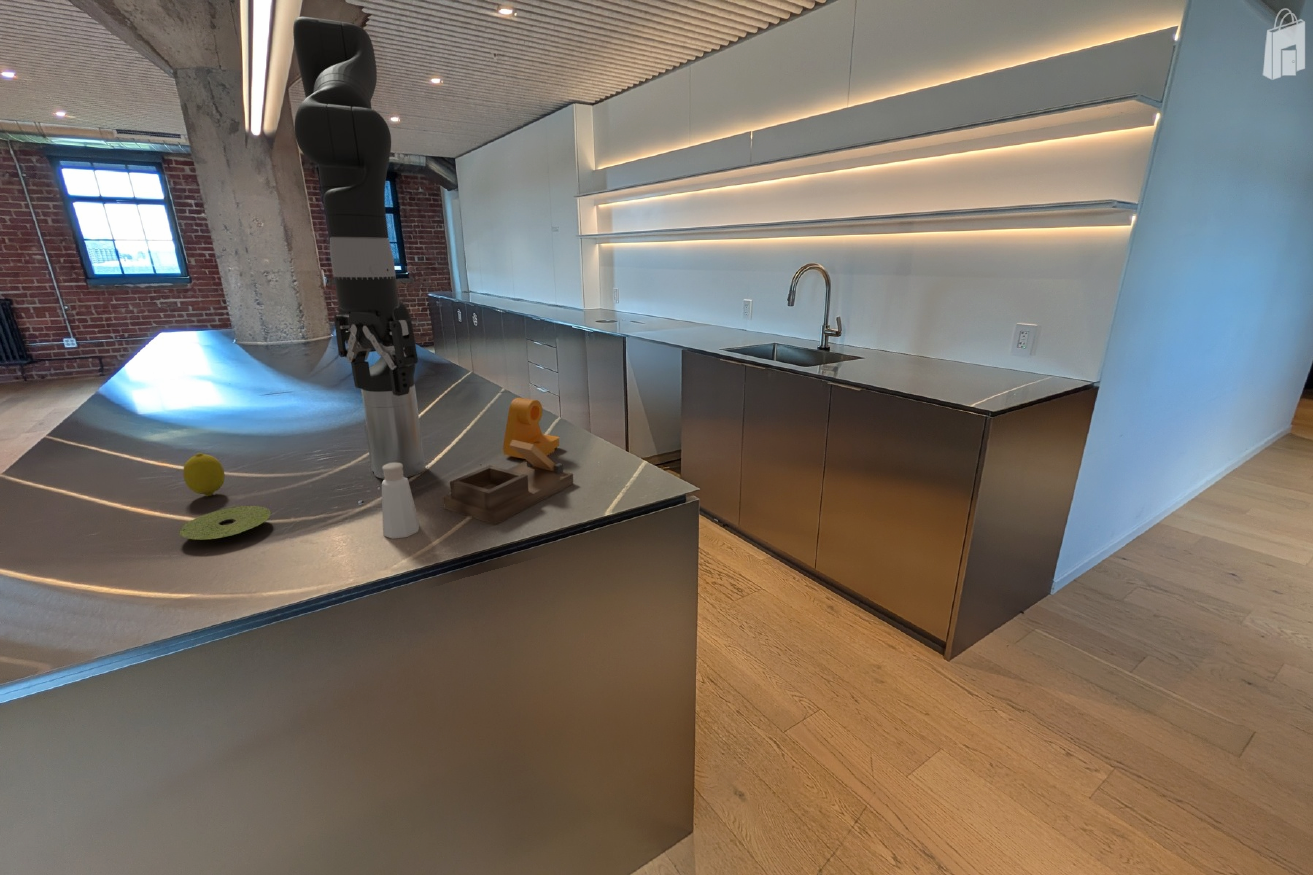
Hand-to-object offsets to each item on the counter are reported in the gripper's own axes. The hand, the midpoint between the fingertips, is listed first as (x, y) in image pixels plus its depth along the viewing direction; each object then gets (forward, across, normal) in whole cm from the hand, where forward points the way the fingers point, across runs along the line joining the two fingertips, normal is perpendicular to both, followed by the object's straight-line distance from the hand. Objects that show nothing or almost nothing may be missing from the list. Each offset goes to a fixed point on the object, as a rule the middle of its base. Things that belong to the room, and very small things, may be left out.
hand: (382, 391), depth 81 cm
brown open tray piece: (+22, -5, -19) cm, 30 cm away
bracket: (+23, +7, -38) cm, 45 cm away
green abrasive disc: (+22, +22, +14) cm, 35 cm away
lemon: (+22, +40, +9) cm, 47 cm away
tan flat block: (+17, -5, -25) cm, 31 cm away
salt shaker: (+23, 0, 0) cm, 23 cm away
